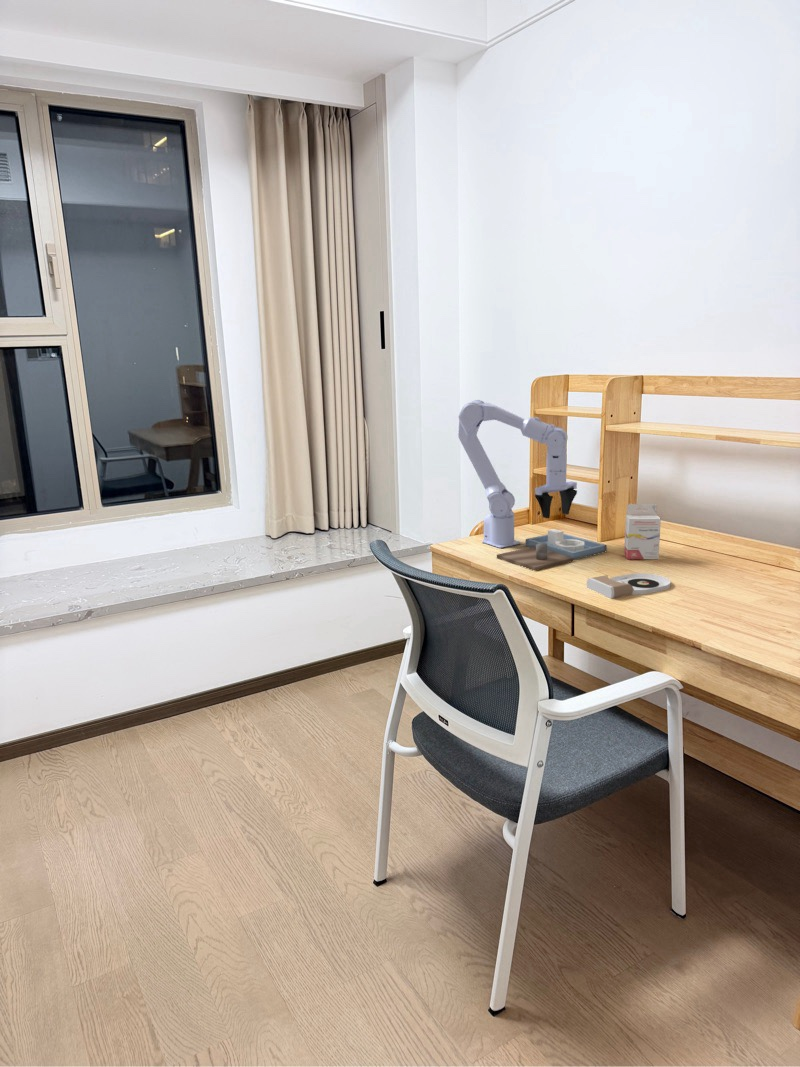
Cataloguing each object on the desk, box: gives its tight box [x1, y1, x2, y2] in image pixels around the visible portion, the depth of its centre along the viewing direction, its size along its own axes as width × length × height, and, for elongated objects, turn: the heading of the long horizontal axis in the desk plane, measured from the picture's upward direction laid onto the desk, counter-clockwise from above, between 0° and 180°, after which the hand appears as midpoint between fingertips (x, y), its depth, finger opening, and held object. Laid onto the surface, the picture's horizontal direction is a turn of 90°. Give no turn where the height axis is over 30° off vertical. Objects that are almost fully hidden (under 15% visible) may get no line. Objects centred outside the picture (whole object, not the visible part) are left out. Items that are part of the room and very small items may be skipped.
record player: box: [586, 572, 672, 600], centre depth 184 cm, size 12×3×20 cm
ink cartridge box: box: [623, 503, 662, 560], centre depth 206 cm, size 9×5×15 cm, turn 84°
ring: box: [547, 528, 584, 552], centre depth 219 cm, size 12×8×4 cm
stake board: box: [496, 543, 574, 571], centre depth 209 cm, size 16×14×5 cm
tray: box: [525, 533, 608, 561], centre depth 219 cm, size 20×13×2 cm, turn 31°
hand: (555, 515), depth 220 cm, fingers open, 7 cm apart
